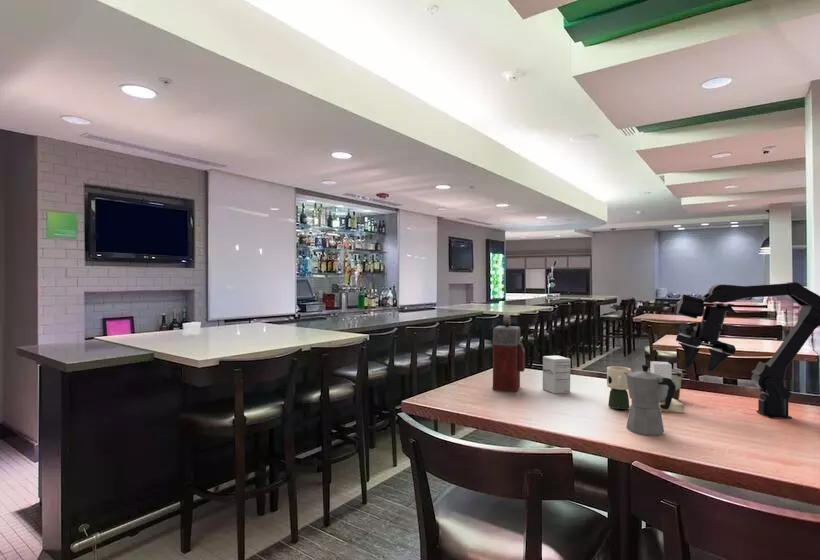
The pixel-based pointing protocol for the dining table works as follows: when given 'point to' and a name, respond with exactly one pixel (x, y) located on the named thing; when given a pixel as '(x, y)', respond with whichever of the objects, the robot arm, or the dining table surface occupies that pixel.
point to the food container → (676, 382)
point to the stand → (673, 406)
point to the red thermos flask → (507, 357)
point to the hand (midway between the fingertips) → (698, 369)
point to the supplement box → (556, 374)
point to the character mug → (618, 387)
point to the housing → (662, 374)
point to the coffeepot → (647, 401)
